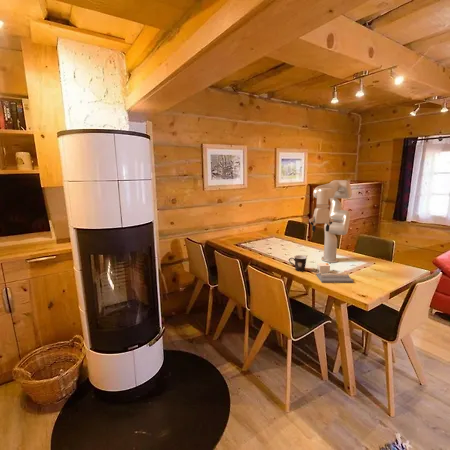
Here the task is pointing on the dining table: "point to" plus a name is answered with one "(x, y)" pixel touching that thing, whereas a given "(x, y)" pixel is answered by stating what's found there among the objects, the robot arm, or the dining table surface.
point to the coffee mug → (299, 262)
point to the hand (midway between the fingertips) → (320, 231)
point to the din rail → (334, 275)
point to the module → (323, 267)
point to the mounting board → (335, 280)
